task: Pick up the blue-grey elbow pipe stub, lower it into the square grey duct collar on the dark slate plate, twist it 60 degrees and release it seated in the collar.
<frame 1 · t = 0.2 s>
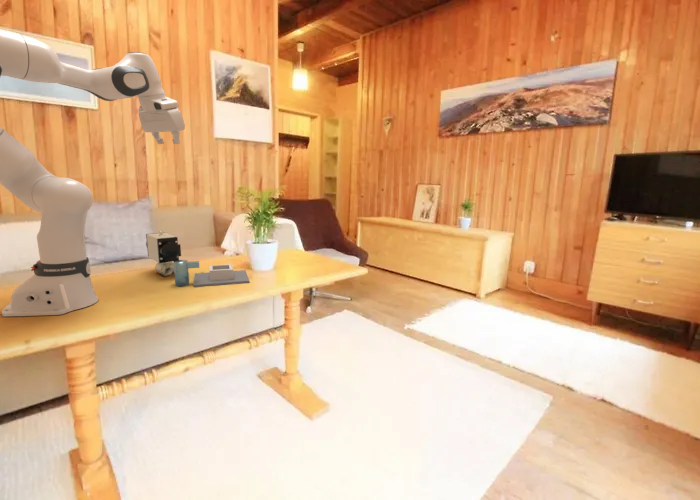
hand: (169, 143, 132), 51 cm above the table, tool tilted 20°, fingers open, 8 cm apart
elbow: (182, 284, 133), on the table
duct socket: (221, 278, 142), on the table
ball valve: (166, 274, 146), on the table
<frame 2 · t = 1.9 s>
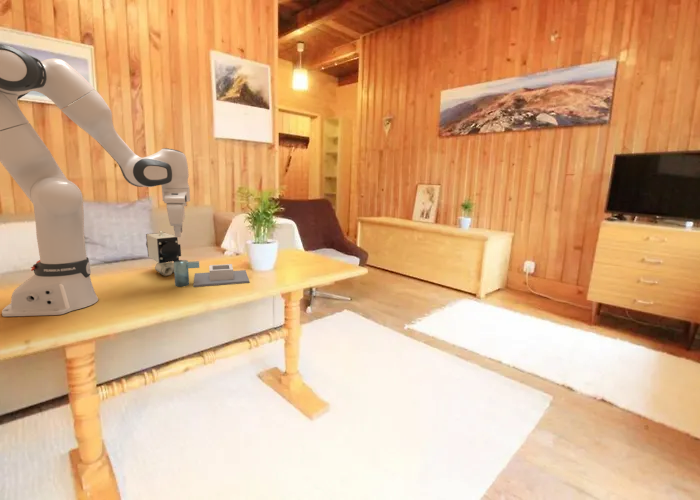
hand: (178, 234, 129), 19 cm above the table, tool pointing down, fingers open, 8 cm apart
nothing on the table moved.
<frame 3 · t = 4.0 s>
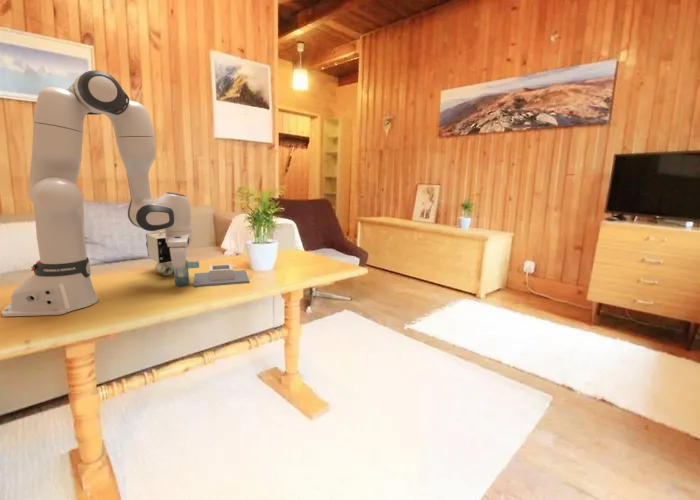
hand: (181, 274, 132), 4 cm above the table, tool pointing down, fingers closed on elbow, 5 cm apart
elbow: (182, 284, 133), on the table, touching gripper
everything else where it was.
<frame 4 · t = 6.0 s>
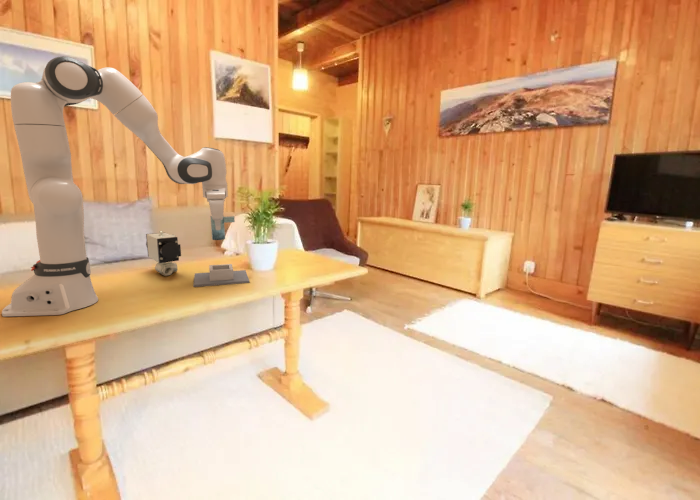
hand: (217, 228, 137), 20 cm above the table, tool pointing down, fingers closed on elbow, 5 cm apart
elbow: (218, 238, 138), point 16 cm above the table, touching gripper
everything else where it was.
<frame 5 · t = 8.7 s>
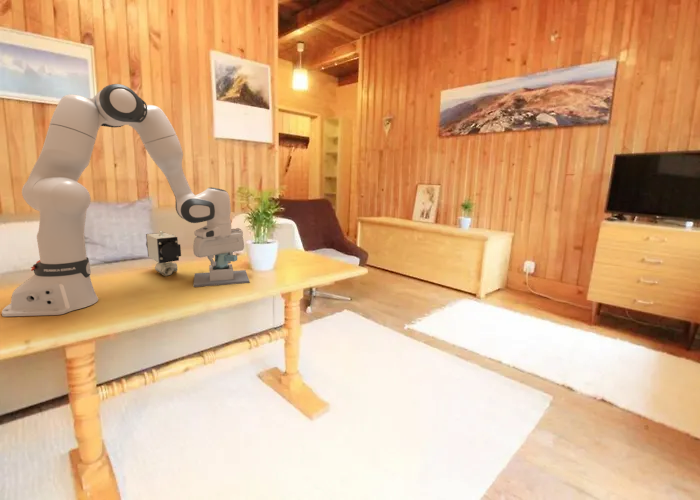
hand: (220, 264, 140), 6 cm above the table, tool pointing down, fingers closed on elbow, 5 cm apart
elbow: (221, 275, 141), point 2 cm above the table, touching gripper
everything else where it was.
when the fingers open (6 cm above the table, at t = 9.3 s): elbow stays where it is, resting on duct socket.
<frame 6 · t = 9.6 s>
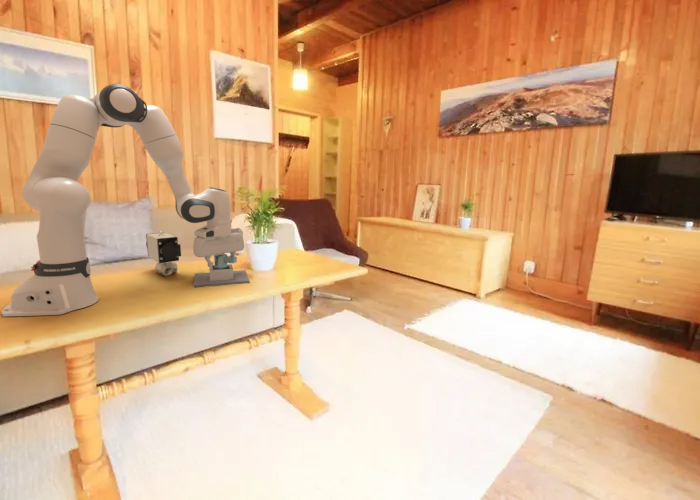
hand: (220, 264, 140), 6 cm above the table, tool pointing down, fingers open, 7 cm apart
elbow: (221, 277, 141), point 1 cm above the table, touching duct socket
everything else where it was.
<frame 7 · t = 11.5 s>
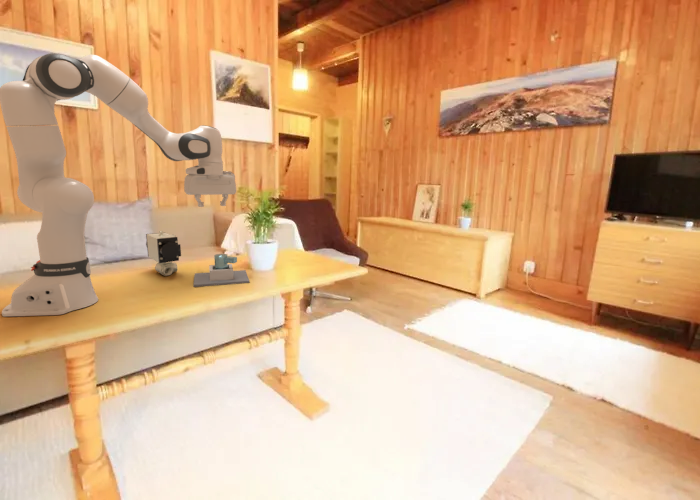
hand: (212, 206, 140), 28 cm above the table, tool pointing down, fingers open, 8 cm apart
nothing on the table moved.
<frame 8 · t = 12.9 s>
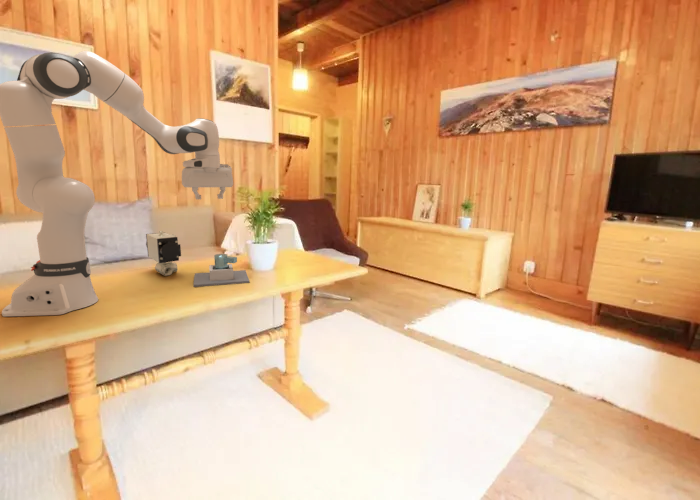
hand: (209, 198, 141), 31 cm above the table, tool pointing down, fingers open, 8 cm apart
nothing on the table moved.
at the end: elbow 0.3 cm off-centre on the duct socket, point 0.8 cm above the duct socket's base; elbow tilted 0°; the gripper is holding nothing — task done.
